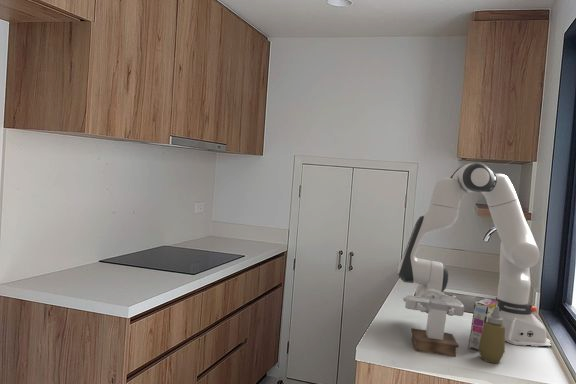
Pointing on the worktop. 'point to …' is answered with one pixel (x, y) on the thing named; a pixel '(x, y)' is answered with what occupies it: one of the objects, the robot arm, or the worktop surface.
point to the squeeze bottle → (493, 338)
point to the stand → (434, 343)
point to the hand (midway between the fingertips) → (437, 311)
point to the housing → (436, 319)
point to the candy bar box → (480, 320)
